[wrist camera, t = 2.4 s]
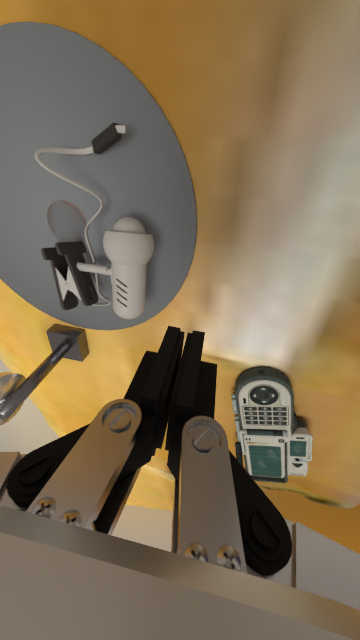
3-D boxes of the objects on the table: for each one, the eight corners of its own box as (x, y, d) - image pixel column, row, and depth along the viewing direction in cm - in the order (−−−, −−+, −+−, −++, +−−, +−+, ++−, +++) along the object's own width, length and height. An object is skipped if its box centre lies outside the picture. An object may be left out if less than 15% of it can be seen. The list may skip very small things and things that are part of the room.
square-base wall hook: (54, 321, 35) (-40, 401, 23) (83, 326, 35) (4, 412, 23) (61, 349, 39) (-17, 433, 26) (89, 355, 38) (22, 443, 26)
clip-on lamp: (62, 141, 24) (75, 301, 31) (5, 111, 19) (36, 316, 25) (166, 141, 22) (157, 316, 28) (138, 107, 16) (134, 336, 23)
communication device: (310, 359, 31) (335, 416, 24) (303, 454, 43) (318, 511, 36) (223, 363, 35) (221, 414, 27) (238, 450, 46) (240, 502, 39)
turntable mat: (-128, 15, 19) (-131, 14, 19) (222, 31, 16) (221, 30, 16) (-1, 310, 36) (-2, 311, 36) (182, 345, 33) (182, 346, 33)
